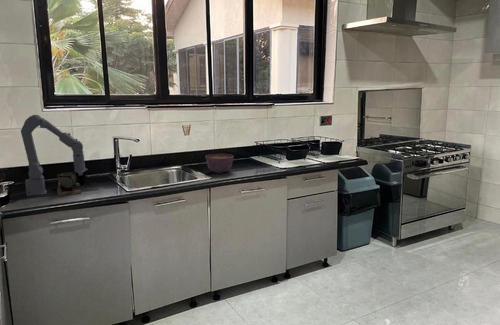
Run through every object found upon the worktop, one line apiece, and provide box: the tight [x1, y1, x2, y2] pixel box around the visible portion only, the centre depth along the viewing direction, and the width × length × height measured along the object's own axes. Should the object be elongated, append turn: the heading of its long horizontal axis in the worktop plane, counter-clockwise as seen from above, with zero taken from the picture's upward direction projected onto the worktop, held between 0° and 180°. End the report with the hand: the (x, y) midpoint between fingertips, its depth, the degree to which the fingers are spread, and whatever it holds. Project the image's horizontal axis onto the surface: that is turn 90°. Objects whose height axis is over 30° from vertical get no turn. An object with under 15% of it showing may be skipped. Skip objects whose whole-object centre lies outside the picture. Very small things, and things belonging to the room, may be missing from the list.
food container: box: [56, 171, 78, 192], centre depth 215 cm, size 12×6×10 cm, turn 65°
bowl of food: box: [204, 153, 235, 174], centre depth 263 cm, size 20×20×12 cm
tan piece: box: [56, 181, 82, 198], centre depth 217 cm, size 12×24×4 cm, turn 25°
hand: (81, 184), depth 219 cm, fingers open, 3 cm apart
